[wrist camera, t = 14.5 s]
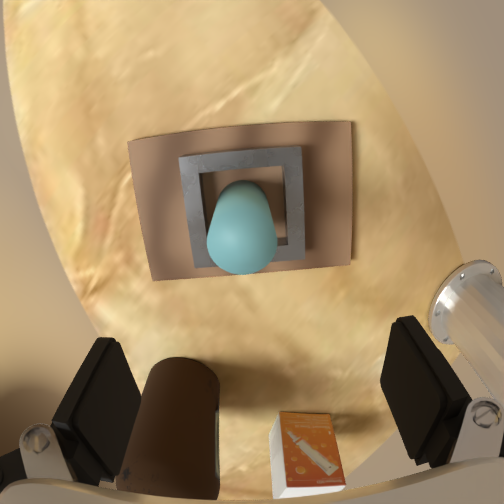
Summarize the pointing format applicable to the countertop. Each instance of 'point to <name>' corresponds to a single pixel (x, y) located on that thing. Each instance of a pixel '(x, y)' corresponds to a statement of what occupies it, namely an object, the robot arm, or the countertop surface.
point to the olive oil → (175, 434)
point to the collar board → (251, 169)
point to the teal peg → (242, 229)
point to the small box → (304, 456)
